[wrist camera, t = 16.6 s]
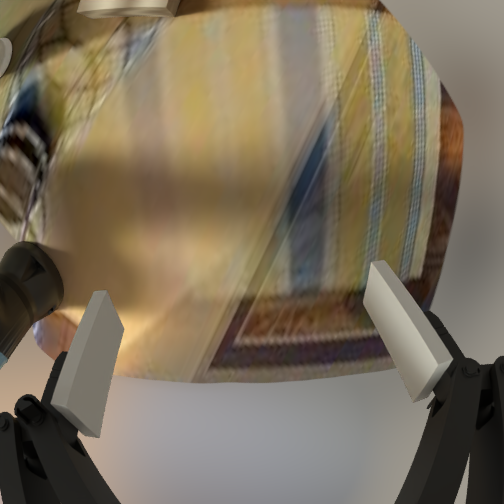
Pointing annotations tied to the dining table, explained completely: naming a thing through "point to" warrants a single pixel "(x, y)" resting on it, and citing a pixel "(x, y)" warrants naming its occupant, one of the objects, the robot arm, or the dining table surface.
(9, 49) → the jar
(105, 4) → the birch block
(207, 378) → the dining table surface
